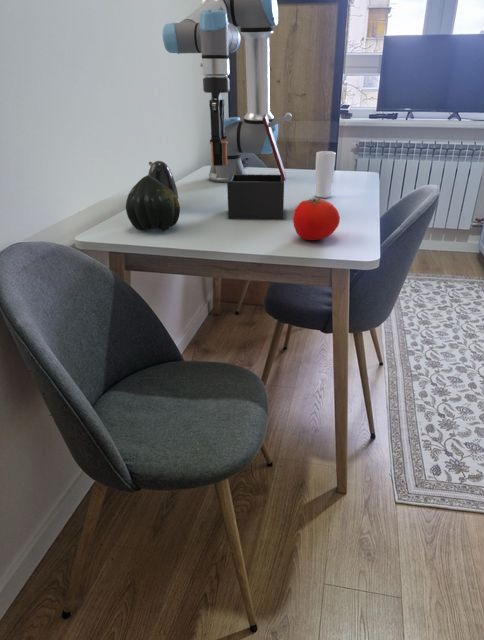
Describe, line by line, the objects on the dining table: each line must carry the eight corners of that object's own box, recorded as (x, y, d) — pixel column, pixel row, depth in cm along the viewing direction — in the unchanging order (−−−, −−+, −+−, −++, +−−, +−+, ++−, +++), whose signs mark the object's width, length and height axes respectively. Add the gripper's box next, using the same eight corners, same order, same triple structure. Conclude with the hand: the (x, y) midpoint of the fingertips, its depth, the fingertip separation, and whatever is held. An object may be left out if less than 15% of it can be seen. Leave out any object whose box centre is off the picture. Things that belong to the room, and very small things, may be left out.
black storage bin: (228, 218, 147) (227, 181, 141) (232, 209, 157) (230, 174, 152) (283, 219, 147) (284, 182, 141) (283, 209, 157) (284, 174, 151)
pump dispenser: (167, 204, 163) (162, 157, 155) (185, 209, 156) (181, 160, 148) (141, 209, 156) (135, 160, 149) (159, 215, 150) (153, 164, 142)
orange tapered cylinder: (212, 162, 149) (211, 140, 145) (229, 162, 149) (228, 140, 145) (209, 166, 144) (208, 143, 141) (227, 166, 144) (226, 143, 141)
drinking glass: (331, 199, 169) (335, 154, 162) (312, 198, 170) (315, 153, 163) (333, 194, 175) (336, 151, 167) (314, 194, 176) (317, 150, 168)
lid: (262, 118, 132) (289, 107, 131) (263, 115, 143) (288, 105, 141) (282, 181, 141) (308, 171, 139) (282, 173, 151) (306, 164, 149)
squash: (159, 220, 125) (171, 169, 128) (110, 218, 130) (122, 168, 132) (181, 243, 139) (191, 196, 142) (136, 240, 143) (146, 195, 146)
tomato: (304, 229, 138) (306, 191, 132) (344, 235, 132) (348, 197, 127) (282, 241, 128) (283, 201, 122) (325, 249, 122) (327, 207, 117)
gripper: (207, 76, 142) (211, 158, 154) (197, 77, 127) (202, 168, 138) (232, 76, 142) (234, 158, 154) (225, 77, 126) (228, 169, 138)
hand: (219, 163), depth 146 cm, fingers closed on orange tapered cylinder, 5 cm apart
